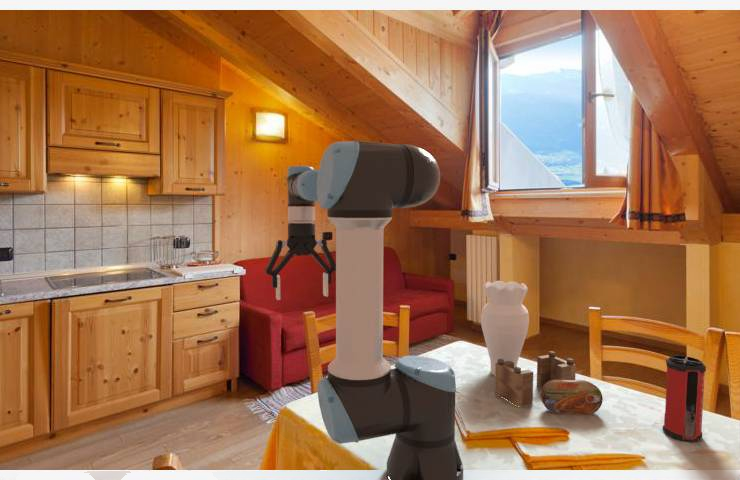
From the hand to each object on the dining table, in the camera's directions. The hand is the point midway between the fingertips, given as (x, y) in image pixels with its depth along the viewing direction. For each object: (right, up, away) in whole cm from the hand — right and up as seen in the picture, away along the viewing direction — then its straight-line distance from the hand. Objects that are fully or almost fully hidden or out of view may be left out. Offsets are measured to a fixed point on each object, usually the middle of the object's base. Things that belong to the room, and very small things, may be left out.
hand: (302, 297), depth 130 cm
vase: (+62, -27, +17) cm, 70 cm away
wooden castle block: (+66, -28, +1) cm, 71 cm away
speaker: (+92, -30, -22) cm, 99 cm away
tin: (+71, -29, -10) cm, 78 cm away
